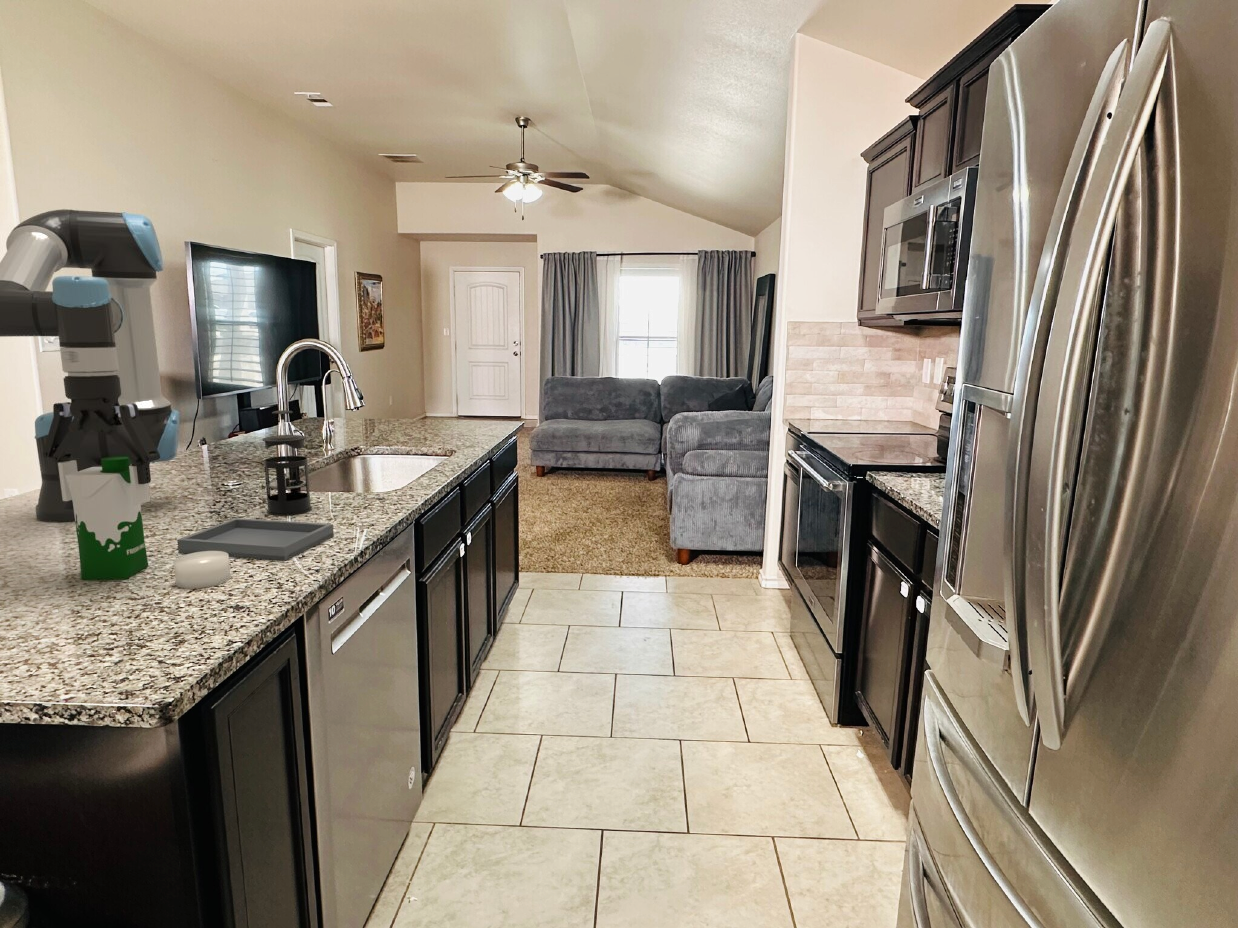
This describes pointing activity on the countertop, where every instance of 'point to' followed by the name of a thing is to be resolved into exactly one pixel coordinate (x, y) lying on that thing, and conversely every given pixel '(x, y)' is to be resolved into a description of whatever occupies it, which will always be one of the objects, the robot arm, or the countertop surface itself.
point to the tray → (257, 538)
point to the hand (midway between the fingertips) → (106, 501)
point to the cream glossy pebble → (202, 569)
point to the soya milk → (107, 521)
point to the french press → (295, 498)
